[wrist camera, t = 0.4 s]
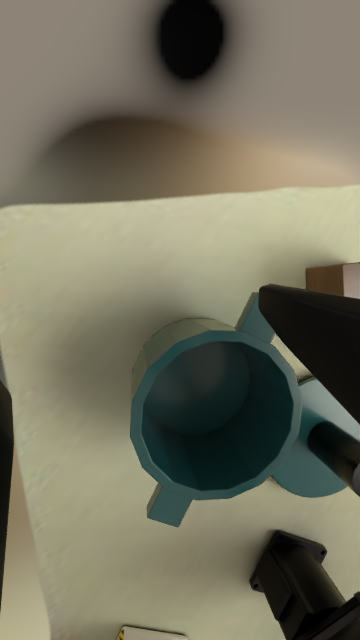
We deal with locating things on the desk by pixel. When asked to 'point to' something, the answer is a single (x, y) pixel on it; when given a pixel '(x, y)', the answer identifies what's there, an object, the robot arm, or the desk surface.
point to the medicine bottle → (147, 635)
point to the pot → (211, 410)
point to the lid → (322, 447)
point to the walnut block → (335, 279)
